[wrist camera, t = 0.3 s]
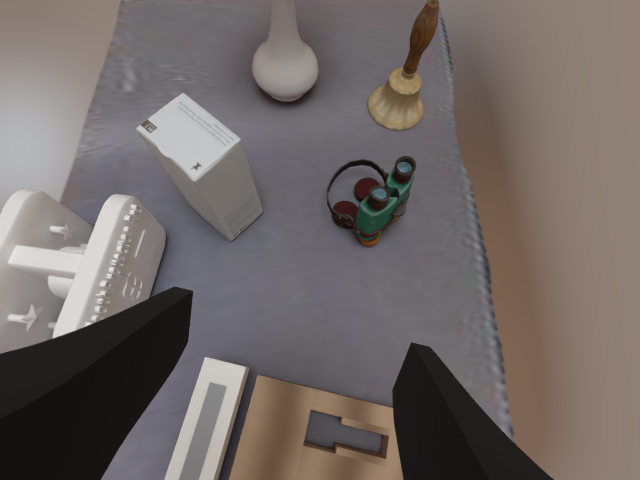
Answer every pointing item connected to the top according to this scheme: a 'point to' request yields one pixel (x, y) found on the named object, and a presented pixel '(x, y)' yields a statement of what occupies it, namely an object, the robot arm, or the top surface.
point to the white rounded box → (71, 265)
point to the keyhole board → (290, 429)
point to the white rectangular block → (208, 422)
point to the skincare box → (204, 164)
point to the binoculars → (375, 200)
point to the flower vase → (284, 56)
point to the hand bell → (405, 79)
